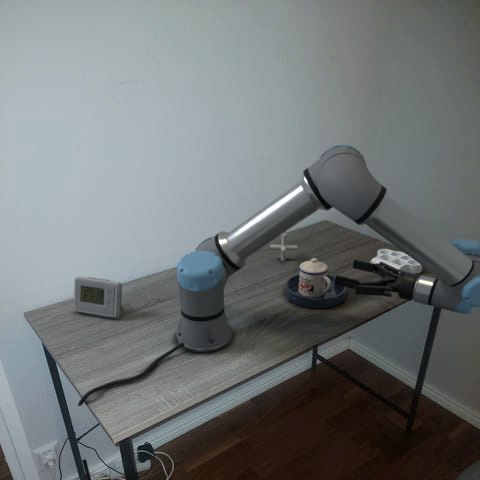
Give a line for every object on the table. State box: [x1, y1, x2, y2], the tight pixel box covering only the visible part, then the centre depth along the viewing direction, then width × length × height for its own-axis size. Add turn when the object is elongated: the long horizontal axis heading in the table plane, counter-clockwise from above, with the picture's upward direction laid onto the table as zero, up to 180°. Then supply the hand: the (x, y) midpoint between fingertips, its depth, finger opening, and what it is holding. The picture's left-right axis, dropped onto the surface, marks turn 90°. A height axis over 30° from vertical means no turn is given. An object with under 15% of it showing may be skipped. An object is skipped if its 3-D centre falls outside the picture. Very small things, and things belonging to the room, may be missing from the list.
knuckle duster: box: [370, 248, 424, 275], centre depth 164 cm, size 3×18×15 cm
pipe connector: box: [269, 233, 298, 262], centre depth 168 cm, size 10×10×10 cm
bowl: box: [284, 273, 347, 309], centre depth 145 cm, size 19×19×3 cm
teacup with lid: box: [298, 257, 331, 298], centre depth 143 cm, size 12×9×12 cm
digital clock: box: [73, 275, 123, 319], centre depth 135 cm, size 16×9×11 cm, turn 60°
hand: (344, 271), depth 136 cm, fingers open, 13 cm apart
